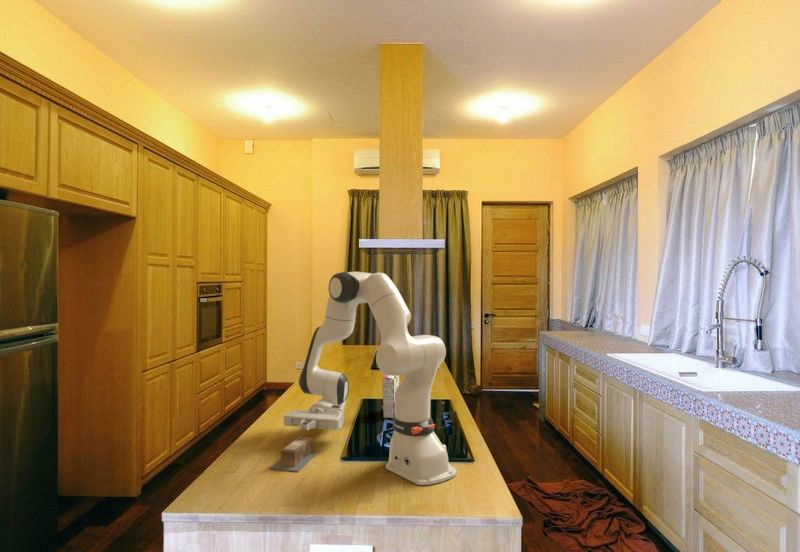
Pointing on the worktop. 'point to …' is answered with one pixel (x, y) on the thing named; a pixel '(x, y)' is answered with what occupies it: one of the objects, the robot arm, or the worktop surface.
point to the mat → (297, 467)
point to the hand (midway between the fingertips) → (303, 427)
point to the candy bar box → (389, 395)
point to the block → (296, 451)
